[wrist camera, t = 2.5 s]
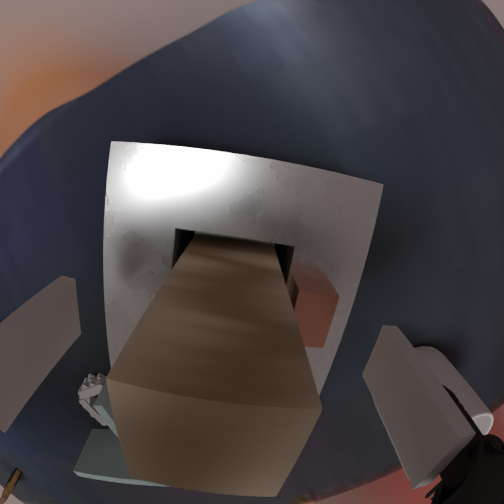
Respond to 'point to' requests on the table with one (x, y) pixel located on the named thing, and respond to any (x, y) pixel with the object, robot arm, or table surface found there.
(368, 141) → the table surface
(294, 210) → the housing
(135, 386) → the column
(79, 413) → the table surface
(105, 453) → the right angle wall
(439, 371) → the mug
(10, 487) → the ammunition clip
